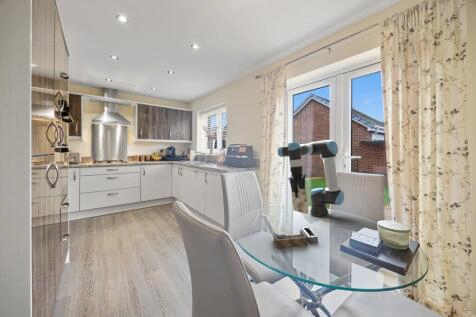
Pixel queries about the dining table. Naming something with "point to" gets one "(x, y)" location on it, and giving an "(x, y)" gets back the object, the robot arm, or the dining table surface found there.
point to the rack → (291, 240)
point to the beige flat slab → (303, 203)
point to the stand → (313, 237)
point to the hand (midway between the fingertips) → (299, 201)
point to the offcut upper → (280, 234)
